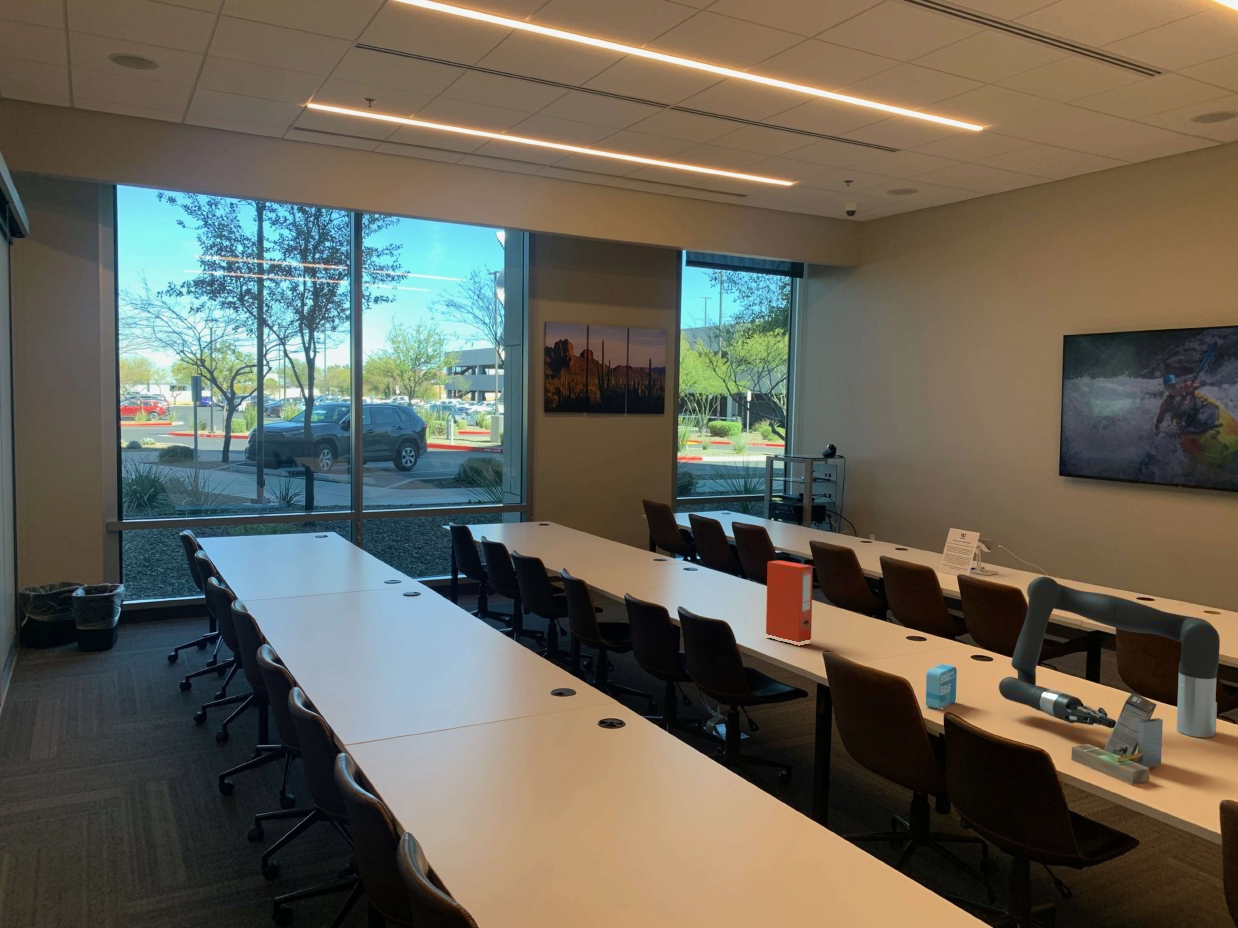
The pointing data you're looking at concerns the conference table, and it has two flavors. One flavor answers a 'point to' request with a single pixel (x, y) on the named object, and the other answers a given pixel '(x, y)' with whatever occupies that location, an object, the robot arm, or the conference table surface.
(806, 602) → the file binder
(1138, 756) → the blue-grey flat panel
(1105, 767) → the frame
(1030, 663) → the robot arm
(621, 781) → the conference table surface
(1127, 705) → the coffee box
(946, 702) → the data package
